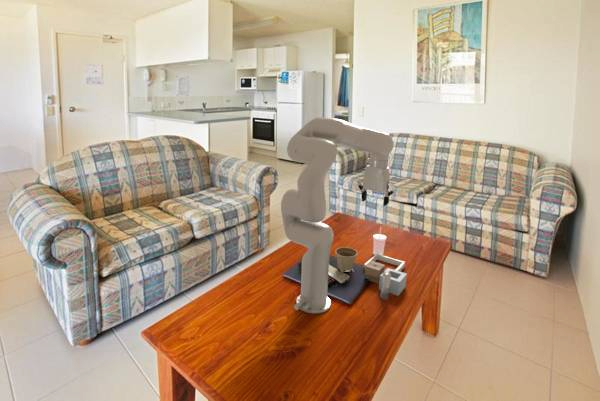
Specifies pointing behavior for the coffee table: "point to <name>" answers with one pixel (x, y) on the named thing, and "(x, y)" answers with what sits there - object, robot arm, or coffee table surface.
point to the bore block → (395, 281)
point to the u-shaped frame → (388, 260)
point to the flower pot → (345, 258)
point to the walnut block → (374, 271)
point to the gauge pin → (385, 285)
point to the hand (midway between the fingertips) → (374, 202)
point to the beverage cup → (379, 243)
